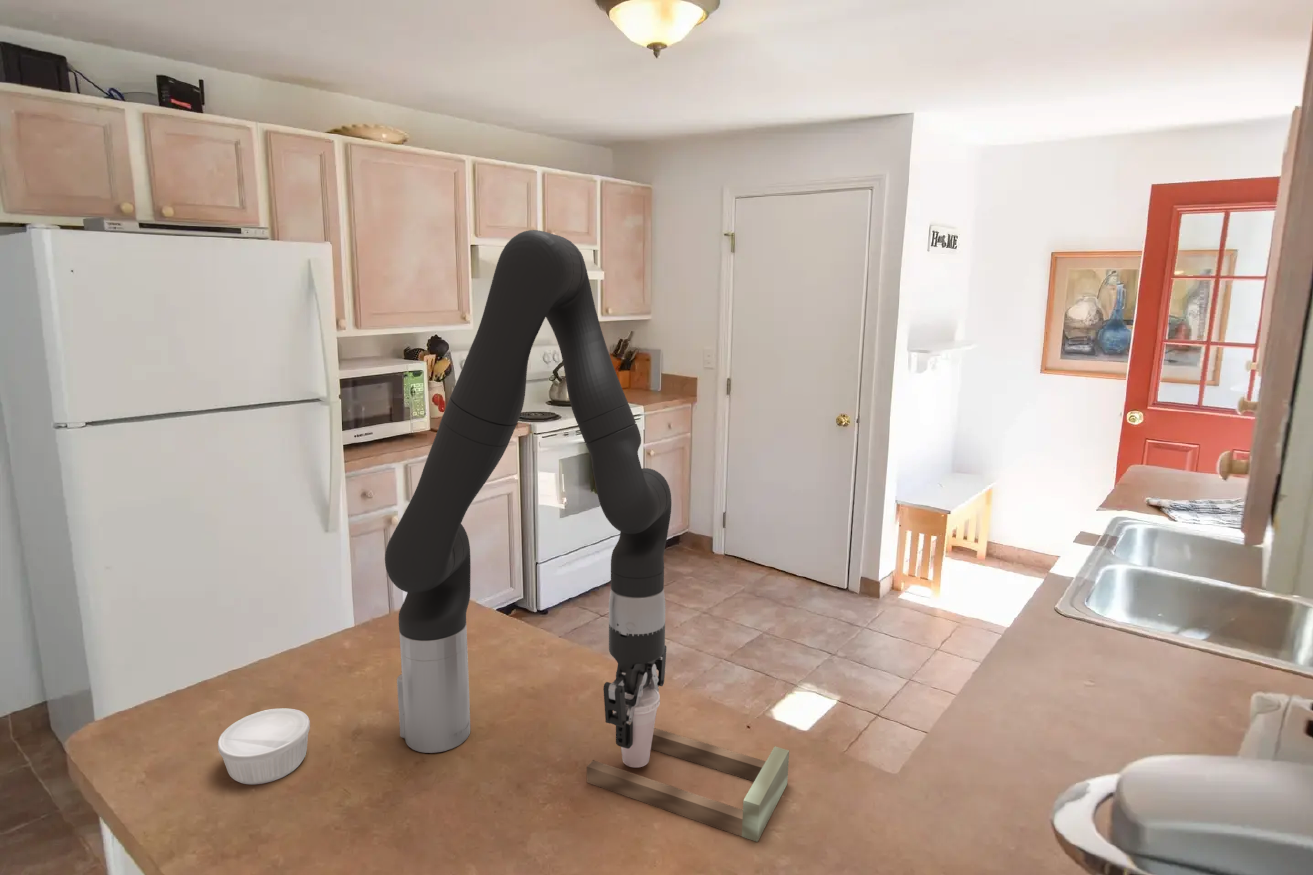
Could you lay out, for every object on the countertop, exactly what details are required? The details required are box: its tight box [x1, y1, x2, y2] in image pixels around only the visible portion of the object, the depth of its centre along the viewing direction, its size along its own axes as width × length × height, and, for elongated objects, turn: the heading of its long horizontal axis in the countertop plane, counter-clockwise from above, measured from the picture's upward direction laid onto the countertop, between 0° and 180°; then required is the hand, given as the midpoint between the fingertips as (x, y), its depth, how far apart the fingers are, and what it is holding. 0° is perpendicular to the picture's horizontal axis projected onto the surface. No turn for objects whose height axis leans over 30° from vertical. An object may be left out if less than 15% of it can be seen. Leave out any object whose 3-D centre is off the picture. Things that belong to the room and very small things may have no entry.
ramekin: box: [217, 707, 311, 785], centre depth 104 cm, size 11×11×5 cm
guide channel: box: [586, 727, 790, 843], centre depth 101 cm, size 24×12×5 cm, turn 64°
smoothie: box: [620, 687, 661, 768], centre depth 104 cm, size 6×6×14 cm
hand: (636, 732), depth 104 cm, fingers closed on smoothie, 6 cm apart
